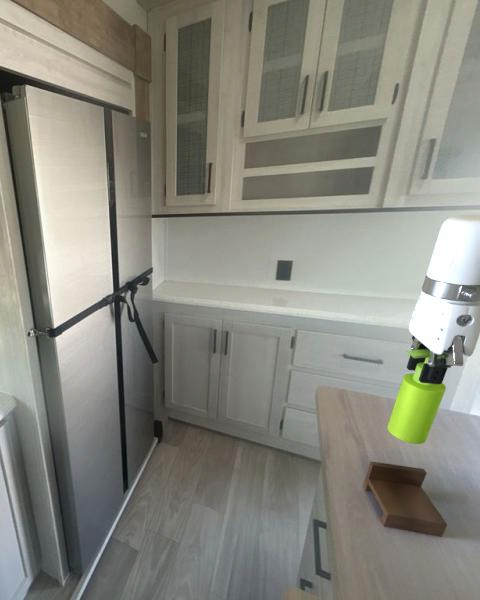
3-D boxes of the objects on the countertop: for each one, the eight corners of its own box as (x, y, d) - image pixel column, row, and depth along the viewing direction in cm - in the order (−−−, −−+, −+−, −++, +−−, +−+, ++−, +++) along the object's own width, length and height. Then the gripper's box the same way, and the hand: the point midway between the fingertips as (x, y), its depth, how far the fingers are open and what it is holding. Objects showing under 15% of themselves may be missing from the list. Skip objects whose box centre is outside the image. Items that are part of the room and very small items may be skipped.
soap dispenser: (375, 422, 73) (398, 344, 65) (411, 423, 71) (440, 343, 64) (394, 443, 67) (422, 360, 60) (433, 444, 66) (467, 360, 59)
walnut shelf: (411, 499, 71) (423, 468, 67) (439, 542, 63) (454, 510, 60) (361, 490, 74) (370, 461, 70) (381, 530, 66) (393, 499, 62)
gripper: (524, 308, 49) (480, 407, 56) (450, 273, 63) (422, 355, 70) (457, 306, 51) (423, 401, 58) (400, 273, 66) (378, 352, 72)
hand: (423, 375), depth 64 cm, fingers closed on soap dispenser, 3 cm apart
